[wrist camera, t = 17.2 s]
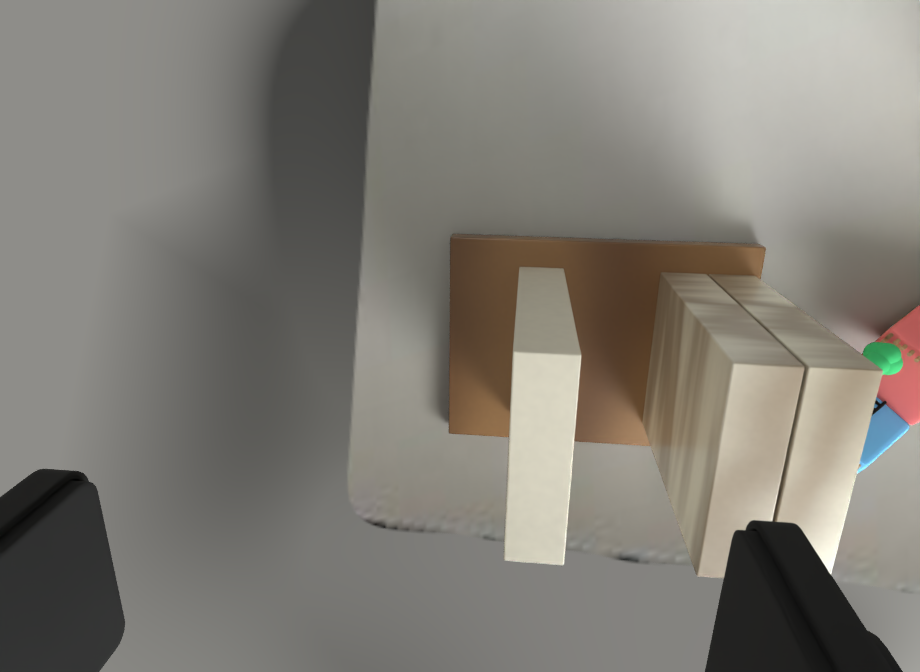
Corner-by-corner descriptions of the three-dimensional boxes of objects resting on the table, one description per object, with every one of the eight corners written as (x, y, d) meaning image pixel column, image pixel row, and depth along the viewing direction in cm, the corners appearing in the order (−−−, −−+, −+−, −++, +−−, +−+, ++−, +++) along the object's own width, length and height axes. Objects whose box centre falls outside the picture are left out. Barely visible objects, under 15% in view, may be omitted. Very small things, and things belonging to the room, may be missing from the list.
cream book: (512, 415, 38) (503, 561, 25) (519, 266, 35) (512, 351, 22) (553, 417, 37) (563, 566, 25) (563, 267, 34) (581, 354, 22)
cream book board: (450, 426, 39) (410, 583, 26) (452, 233, 35) (405, 306, 22) (725, 443, 38) (828, 619, 25) (760, 243, 34) (904, 328, 21)
